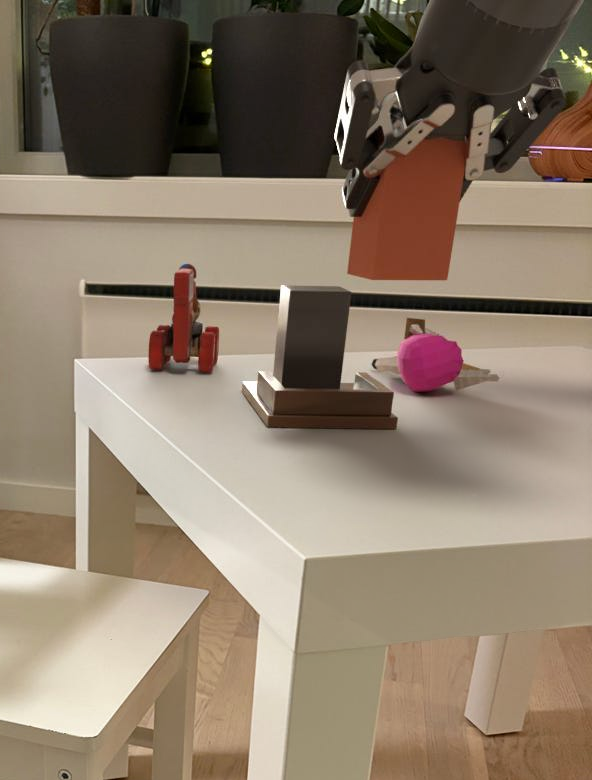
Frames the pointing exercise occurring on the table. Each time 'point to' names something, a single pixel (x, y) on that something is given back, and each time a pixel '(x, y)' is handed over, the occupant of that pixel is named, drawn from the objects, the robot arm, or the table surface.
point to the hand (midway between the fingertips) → (393, 207)
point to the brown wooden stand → (316, 369)
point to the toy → (431, 361)
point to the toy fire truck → (184, 329)
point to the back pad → (411, 215)
